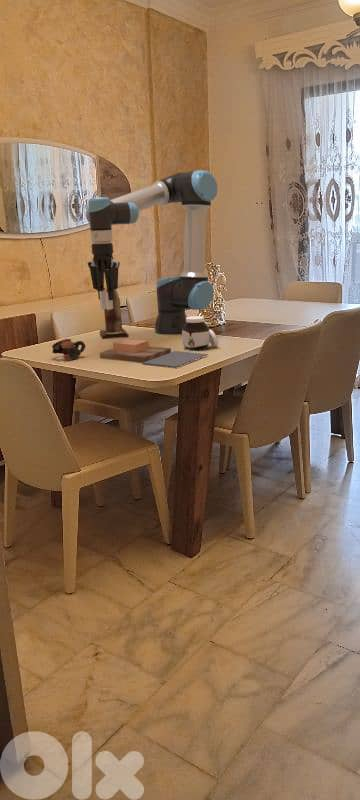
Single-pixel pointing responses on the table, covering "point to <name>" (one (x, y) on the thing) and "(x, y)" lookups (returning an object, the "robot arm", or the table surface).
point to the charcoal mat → (174, 359)
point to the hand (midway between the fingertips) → (106, 308)
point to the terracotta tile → (130, 345)
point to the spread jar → (197, 334)
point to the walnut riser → (136, 354)
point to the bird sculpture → (113, 318)
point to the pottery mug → (68, 349)
